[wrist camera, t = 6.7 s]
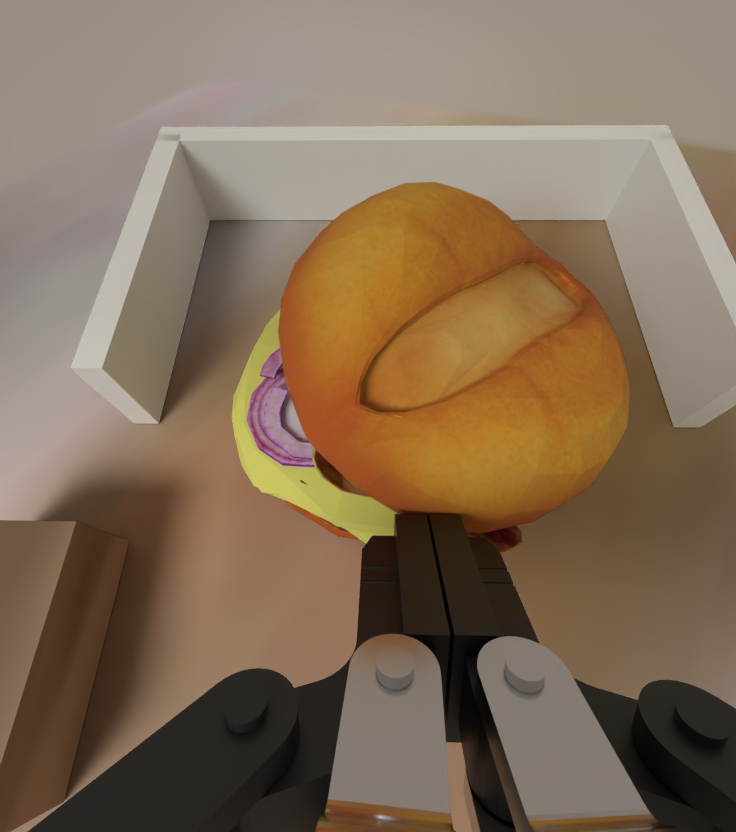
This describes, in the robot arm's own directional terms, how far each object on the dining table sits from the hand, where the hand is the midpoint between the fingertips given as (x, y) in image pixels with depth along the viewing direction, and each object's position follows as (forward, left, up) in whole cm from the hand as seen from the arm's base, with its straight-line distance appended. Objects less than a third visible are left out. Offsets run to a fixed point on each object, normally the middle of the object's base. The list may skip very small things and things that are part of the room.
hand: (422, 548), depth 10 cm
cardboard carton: (-12, -3, -5) cm, 13 cm away
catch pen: (0, +11, -5) cm, 12 cm away
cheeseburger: (0, +5, -5) cm, 7 cm away
